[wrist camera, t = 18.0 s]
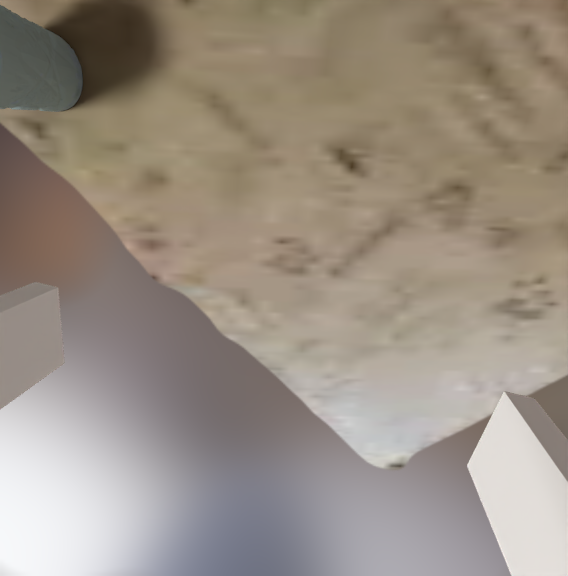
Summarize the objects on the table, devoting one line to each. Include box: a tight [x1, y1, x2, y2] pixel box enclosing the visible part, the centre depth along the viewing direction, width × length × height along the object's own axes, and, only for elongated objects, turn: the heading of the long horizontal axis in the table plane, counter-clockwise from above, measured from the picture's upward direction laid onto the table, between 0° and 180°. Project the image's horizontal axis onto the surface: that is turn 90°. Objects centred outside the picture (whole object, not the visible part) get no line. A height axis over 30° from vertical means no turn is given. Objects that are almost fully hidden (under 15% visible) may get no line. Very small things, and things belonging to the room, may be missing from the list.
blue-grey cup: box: [0, 5, 83, 112], centre depth 36 cm, size 10×10×12 cm
